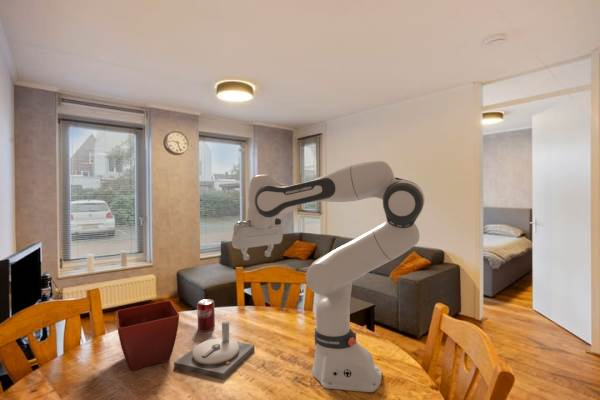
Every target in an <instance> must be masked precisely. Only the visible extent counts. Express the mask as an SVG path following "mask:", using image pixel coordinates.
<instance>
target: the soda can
mask: <svg viewBox="0 0 600 400" xmlns="http://www.w3.org/2000/svg"><path fill="white" fill-rule="evenodd" d="M196 306H197V307H196V309H197V311H196V312H197V330H198V331H200V332H209V331H212V330H214V328H215V326H216V325H215V324H216V322H215V321H216V319H215V318H216V317H215V315H216V312H215V300H214V299H210V298H208V299H201V300H199V301H198V302H197V305H196Z"/></svg>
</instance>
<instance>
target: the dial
mask: <svg viewBox="0 0 600 400" xmlns="http://www.w3.org/2000/svg"><path fill="white" fill-rule="evenodd" d="M221 334H222V335H221V337H219V338H218V337H215V338H216V339H211V340H207V339H206V340H207V341H206V340H205V342H204V341H202V342H201V343H199V344H197V345H196V346H195V347H194V348H193V349H194V350H193V349H192V350H193V359H194V360H195V361H196V362H198V363H201V364H219V363H223V362H225V361H227V360H230V359H232V358H234V357H235V356H236V355H237V354H238V352H239V345H238V343H237V342H238V341H236V340H235V339H232V338H230V321H228V320H227V321H226V320H225V321H222V322H221Z"/></svg>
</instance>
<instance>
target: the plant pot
mask: <svg viewBox="0 0 600 400" xmlns="http://www.w3.org/2000/svg"><path fill="white" fill-rule="evenodd" d="M115 315H116V325H117V328H116V329H117V333H118V339H119V343H120V347H121V351H122V353H123V356H124V360H125V363H126V364H127V367H128V370H130V371H136V370H138V369H143V368H145V367H150V366H153V365H156V364H159V363H164V362H167V361H169V360H170V359H171V356H172V353H173V351H174V347H175V345H176V343H175V342H176V340H177V334H178V329H179V323H180V322H179V319H180V313H179V312H178V310H177V308H176V307H175V305H174V304H173V302H172V301H171V300H164V301H159V302H154V303H149V304H144V305H138V306H132V307H128V308H123V309H121V308H120V309H118V310H116V311H115Z"/></svg>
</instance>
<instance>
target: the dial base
mask: <svg viewBox="0 0 600 400" xmlns="http://www.w3.org/2000/svg"><path fill="white" fill-rule="evenodd" d="M216 338H217V337H212V336H210V337H209V338H207V339H206V340H205V341H207V340H211V339H216ZM205 341H203V342H205ZM236 342H237V343H238V345H239V352H238V354H237V355H236V356H235V357H234V358H232V359H230V360H227V361H225V362H223V363H219V364H201V363H198V362H196V361H195V360H194V359H193V350H194V348H193V349H191V350H190V351H189V352H187V353H186V354H184V355H183V356H181V357H180V358H178V359H177V360H175V361H173V367H174V369H176V370H180V371H185V372H189V373H192V374H193V373H194V374H197V375H202V376H206V377H209V378H215V379H219V380H223V381H224V380H225V379H226V378H227V377H228V376H230V374H231V373H233V371H234V370H236V369H237V368H238V366H240V365H241V364H242V363H243V362H244V361H245V360H246V359H247V358H248V357H249V356H251V354H252V353H253V352H254V351H255V344H252V343H251V344H250V343H246V342H245V343H244V342H241V341H236Z"/></svg>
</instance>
